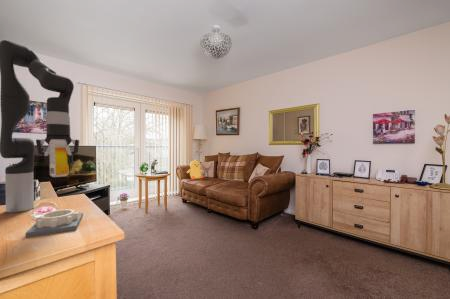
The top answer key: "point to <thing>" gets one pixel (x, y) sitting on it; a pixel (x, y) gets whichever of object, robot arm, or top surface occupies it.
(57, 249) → the top surface
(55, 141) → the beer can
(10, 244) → the top surface
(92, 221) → the top surface
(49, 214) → the gear socket
